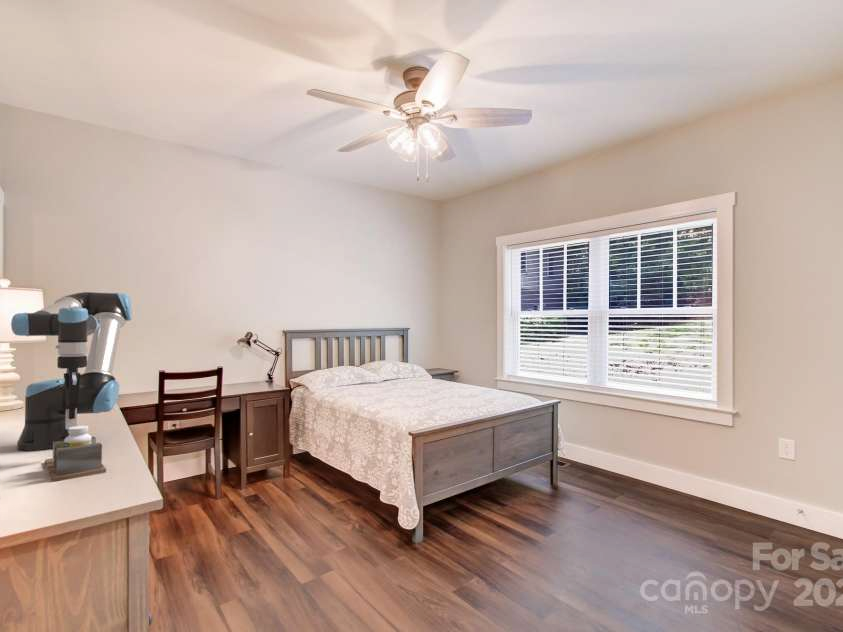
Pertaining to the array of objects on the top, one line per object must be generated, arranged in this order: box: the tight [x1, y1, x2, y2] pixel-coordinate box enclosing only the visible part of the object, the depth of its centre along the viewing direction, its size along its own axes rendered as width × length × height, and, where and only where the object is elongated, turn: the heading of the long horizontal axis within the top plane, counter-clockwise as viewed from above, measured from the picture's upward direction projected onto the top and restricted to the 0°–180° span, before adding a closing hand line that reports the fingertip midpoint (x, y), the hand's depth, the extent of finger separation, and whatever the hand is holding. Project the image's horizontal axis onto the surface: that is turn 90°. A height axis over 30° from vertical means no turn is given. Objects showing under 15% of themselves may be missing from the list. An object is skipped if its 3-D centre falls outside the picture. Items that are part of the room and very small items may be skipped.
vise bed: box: [44, 442, 107, 482], centre depth 134 cm, size 24×12×8 cm, turn 44°
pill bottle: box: [64, 425, 93, 448], centre depth 131 cm, size 6×6×12 cm
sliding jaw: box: [52, 436, 97, 468], centre depth 136 cm, size 7×10×7 cm
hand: (71, 428), depth 143 cm, fingers closed
